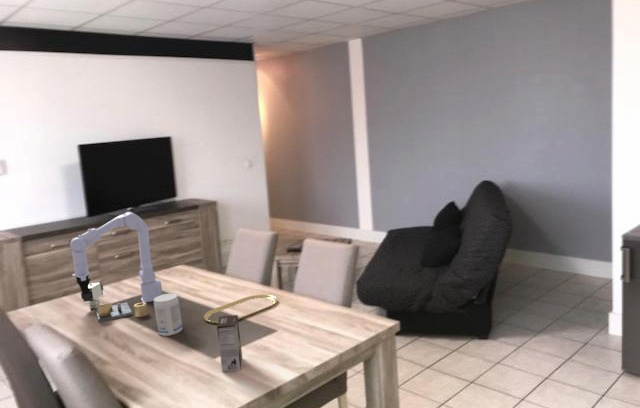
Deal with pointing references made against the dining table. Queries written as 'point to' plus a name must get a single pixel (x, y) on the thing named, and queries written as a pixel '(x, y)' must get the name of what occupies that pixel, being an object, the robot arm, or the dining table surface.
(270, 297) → the loop handle
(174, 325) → the supplement tub
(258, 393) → the dining table surface
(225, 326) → the coffee box
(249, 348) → the dining table surface
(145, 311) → the tan hollow octagonal prism
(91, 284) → the pneumatic valve
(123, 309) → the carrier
